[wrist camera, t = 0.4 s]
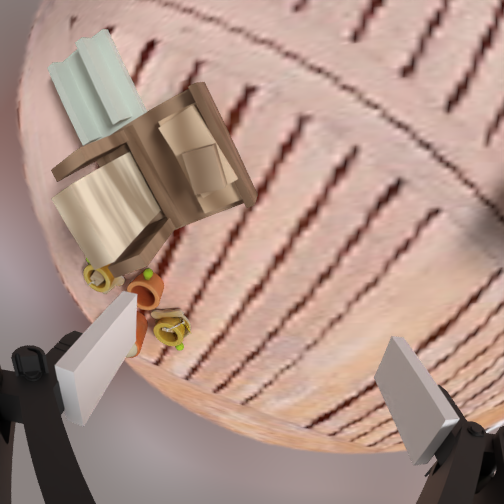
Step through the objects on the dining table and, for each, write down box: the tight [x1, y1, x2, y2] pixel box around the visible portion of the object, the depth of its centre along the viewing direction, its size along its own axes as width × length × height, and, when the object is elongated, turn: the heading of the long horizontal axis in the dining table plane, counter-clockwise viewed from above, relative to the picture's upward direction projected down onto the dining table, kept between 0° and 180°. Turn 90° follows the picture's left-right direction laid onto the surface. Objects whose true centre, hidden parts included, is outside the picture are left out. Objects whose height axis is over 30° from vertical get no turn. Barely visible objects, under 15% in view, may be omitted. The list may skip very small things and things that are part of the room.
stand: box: [48, 29, 147, 146], centre depth 34 cm, size 10×14×4 cm
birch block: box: [52, 151, 162, 270], centre depth 35 cm, size 3×9×14 cm, turn 24°
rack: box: [51, 82, 258, 278], centre depth 36 cm, size 17×16×12 cm
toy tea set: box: [83, 258, 192, 358], centre depth 48 cm, size 26×16×10 cm, turn 18°
